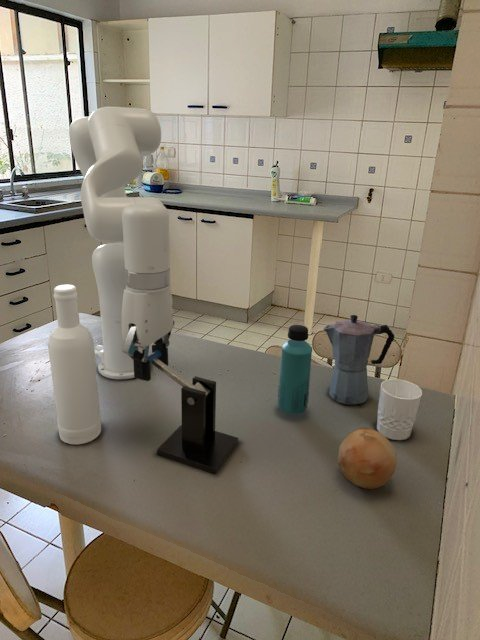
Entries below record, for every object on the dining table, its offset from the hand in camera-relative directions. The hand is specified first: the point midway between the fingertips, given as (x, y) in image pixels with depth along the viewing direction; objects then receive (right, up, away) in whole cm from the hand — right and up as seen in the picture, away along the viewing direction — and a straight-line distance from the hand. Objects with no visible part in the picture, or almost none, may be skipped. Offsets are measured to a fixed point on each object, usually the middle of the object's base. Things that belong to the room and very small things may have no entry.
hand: (151, 371), depth 86 cm
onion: (+38, -19, -5) cm, 43 cm away
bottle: (-15, -13, +5) cm, 20 cm away
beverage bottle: (+28, -11, +14) cm, 33 cm away
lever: (+4, -2, -1) cm, 5 cm away
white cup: (+48, -14, +9) cm, 51 cm away
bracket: (+9, -15, +2) cm, 17 cm away
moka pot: (+42, -8, +22) cm, 48 cm away
